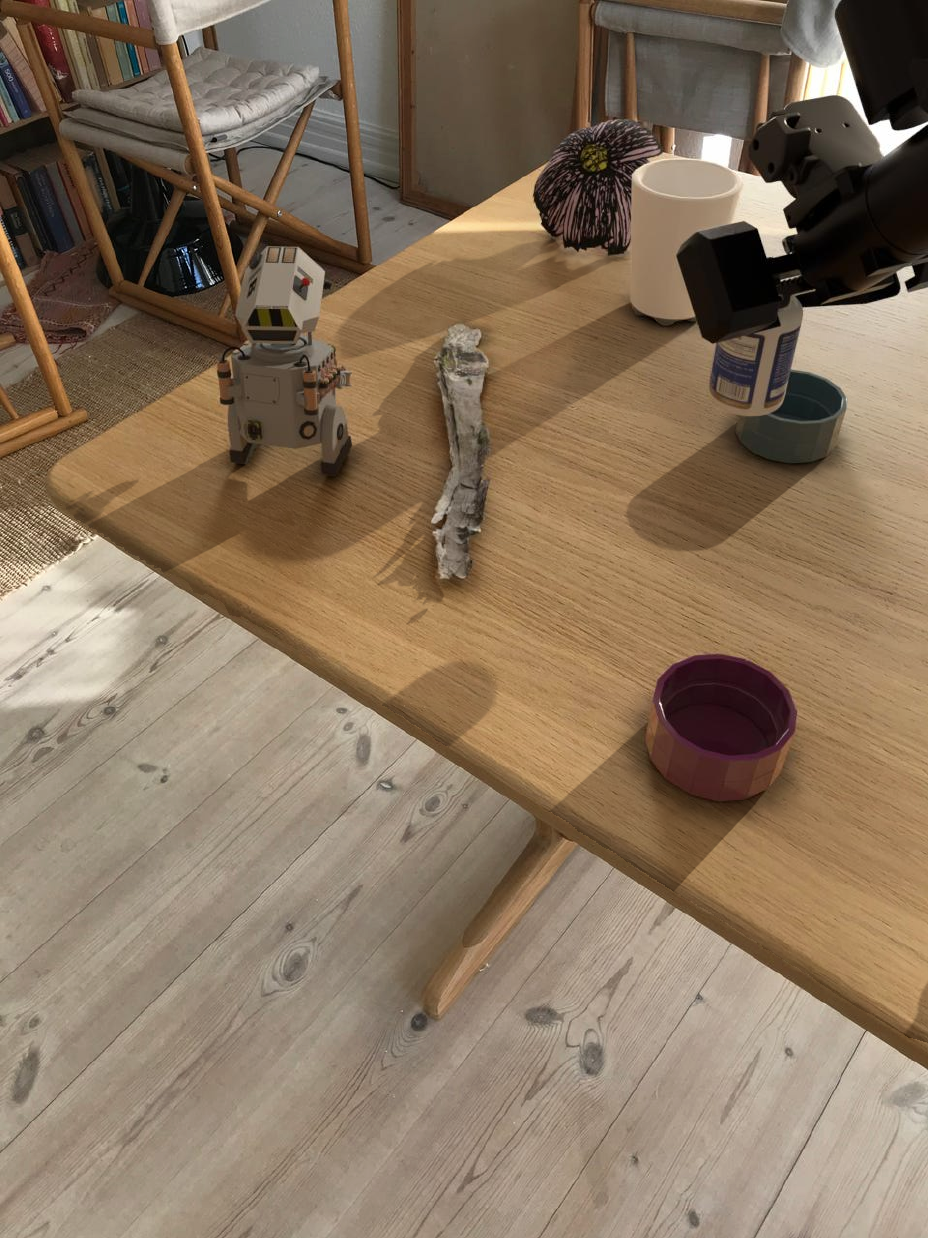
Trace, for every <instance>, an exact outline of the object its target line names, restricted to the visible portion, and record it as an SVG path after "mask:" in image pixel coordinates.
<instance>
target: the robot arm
mask: <svg viewBox="0 0 928 1238" xmlns="http://www.w3.org/2000/svg"><path fill="white" fill-rule="evenodd" d="M833 15H834V16H833V17H834V20H835V24H836V27H837V29H838V34H839V37H840V40H841V43H842V46H843V49H844V52H845V55H846V59H847V62H848V65H849V68H850V71H851V75H852V78H853V81H854V84H855V88H856V91H857V95H858V98H859V100H860V104H861V107H862V110H863V113H864V116H865V118H866V121H867V122H866V121H865V119H864V118H863V116H862V115H861V114H860V112H859V110H858V109H857V108H856V107H855V105H854V104H853V103H852V102H851V100H849V99H847V98H846V97H844V96H841V95H837V94H831V95H825V96H820V97H819V96H818V97H815V98H814V97H813V98H808V99H803V100H798V101H793V102H789V103H788V104H786V105H785V107H784V108H783V109H779V110H773V111H771V114H770V115H769V117H768V119H767V120H766V121H763V122H762V121H761V122H759V123H758V124H757V125H756V127H755V133H754V135H753V137H752V139H751V140H750V143H749V145H748V148H747V149H748V150H747V151H748V152H747V153H748V158H749V160H750V161H751V163H752V164H753V166H754V167H755V169H756V171H757V172H758V174H759V175H760V177H761V178H762V180H763V181H764V182H765V184H773V183H776V182H777V183H778V182H781V184H782V185H783V186H784V188H785V190H786V192H787V193H788V194H789V195H790V196H791V198H794V200H793V201H791V202H790V203H789V204H787V205H786V206H785V207H784V208H783V209H782V211H783V214H784V218H785V221H786V224H787V227H788V229H790V230H793V229H795V230H796V233H795V234H791V235H787V236H785V237H784V238H782V240H781V244H782V248H783V250H784V253H785V254H783V255H779V256H775V257H774V256H773V255H772V256H771V255H770V256H767V254H766V250H765V247H764V244H763V241H762V238H761V235H760V232H759V229H758V228H757V227H755V226H754V225H752V224H750V223H749V222H747V221H745V220H742V221H737V222H733V223H732V224H728V225H723V226H719V227H714V228H710V229H705V230H701V231H697V232H695V233H694V234H693V235H692V236H691V237H690V238H689V239H687V240H686V241H685V242H684V243H683V244H682V245H681V246H680V248H679V250H678V253H677V255H676V257H677V260H678V263H679V267H680V270H681V273H682V276H683V279H684V282H685V286H686V289H687V292H688V295H689V298H690V301H691V304H692V308H693V311H694V314H695V317H696V320H697V321H696V323H697V326H698V330H699V332H700V336H701V338H702V339H703V340H706V342H709V343H710V344H711V345H716V343H719V342H723V341H726V340H730V339H734V338H738V337H742V336H745V335H750V334H754V333H758V332H761V331H765V330H769V329H773V328H777V327H780V326H781V323H780V320H779V317H778V312H779V311H782V310H784V309H786V308H787V307H788V306H789V304H790V299H791V297H792V296H795V297H796V298H797V299H798V300H799V301H800V303H801V305H802V307H803V309H804V308H817V307H818V308H819V307H820V308H821V307H835V306H836V307H837V306H852V305H853V306H854V305H867V304H872V303H876V302H880V301H884V300H887V299H890V298H894V297H896V296H898V295H899V294H900V292H901V282H900V279H899V276H898V273H897V272H899V271H902V270H903V269H904V268H908V267H911V268H912V272H913V275H914V276H912V277H909V278H908V279H907V280H905V281H904V285H905V288H906V292H907V293H913V292H916V291H920V290H923V289H927V288H928V0H839V2H838V3H837V5H836V7H835V9H834V14H833ZM885 121H889V123H890V127H891V129H892V131H897V132H898V131H906V130H910V129H914V128H916V127H919V126H922V125H924V124H926V123H927V124H926V125H924V126H923V127H922V128H921V129H919V130H918V131H917V132H915V133H914V134H912V135H911V136H910V137H909V138H906V139H905V140H904V141H903V142H901V143H900V144H899V145H898V146H897V147H895V148H893V149H892V150H891V151H890V152H888V153H887V154H885V155H884V153H883V152H882V150H881V144H880V143H881V142H880V141H879V139H878V138H877V136H876V135H875V133H874V132H873V131H872V129H871V128H870V126H873V125H876V124H877V123H879V122H885ZM798 275H801V276H799V277H798V278H796V277H794V276H798ZM790 277H794V278H793V279H791V278H790ZM786 278H790V279H788V280H787V281H786V280H783V281H782V282H781V280H782V279H786Z"/></svg>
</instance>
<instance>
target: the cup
mask: <svg viewBox="0 0 928 1238" xmlns="http://www.w3.org/2000/svg"><path fill="white" fill-rule="evenodd" d="M743 187H744V182H743V178H741V176H740V175H739V174H738V173H737V172H736V171H735V170H733V169H731V168H729V167H728V166H725V165H723V164H720V163H718V162H714V161H710V160H705V159H697V158H686V157H685V158H683V157H682V158H681V157H676V158H675V157H674V158H663V159H658V160H657V159H656V160H654V161H650V163H647V164H644V165H643V166H641V167H639V168H638V169H636V170H635V172H634V173H633V174H632V203H631V242H630V271H629V272H630V273H629V274H630V275H629V276H630V277H629V281H630V282H629V299H630V305H631V308H632V311H633V313H634V314H635V316H636V315H637V316H640V317H644V316H648V317H650V318H652V319H654V320H655V321H656V322H657V324H659V325H661V326H664V327H669V326H671V325H673V324H674V323H675V322H680V321H683V320H684V321H685V320H686V321H688V322H697V320H696V317H695V314H694V311H693V308H692V304H691V301H690V298H689V295H688V292H687V289H686V286H685V282H684V279H683V276H682V273H681V270H680V267H679V263H678V260H677V257H676V255H677V253H678V250H679V248H680V246H681V245H682V244H683V243H684V242H685V241H686V240H687V239H689V238H690V237H691V236H692V235H693V234H694V233H695V232H697V231H701V230H705V229H710V228H714V227H719V226H723V225H728V224H732V223H734V220H735V215H736V212H737V208H738V205H739V203H740V198H741V194H742V191H743Z"/></svg>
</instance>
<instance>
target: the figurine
mask: <svg viewBox="0 0 928 1238" xmlns="http://www.w3.org/2000/svg"><path fill="white" fill-rule="evenodd" d="M325 275H326V271H325V270H324V269H323V268H322V267H321V266H320V265H319V264H318V263H317V262H315V261H314V260H313V259H312V258H311V257H310V256H309V255H308V254H307V253H306V252H304V250H302V248H300V247H299V246H271V245H270V246H268V245H267V246H266V247H265V248H264V249H263V250H262V251H261V252H259V251H256V252H255V253H254V254H253V255H252V256H251V257H250V259H249V261H248V266H247V267H246V268H245V270H244V274H243V278H242V283H241V287H240V291H239V296H238V300H237V305H236V309H235V312H234V316H235V317H236V319H237V322H238V323H239V325H240V326H241V331H242V332H243V334H244V335H245V337H246V338H247V339H246V341H244V342H243V343H242V346H241V347H238V346H230V347H228V348H226V349H225V350H224V351H223V353H222V357H221V359H219V360H216V367H217V369H216V372H217V373H216V374H217V378H218V387H219V403H220V404H221V405H223V406H227V407H228V408H227V429H228V431H227V432H228V437H229V444H230V449H229V460H230V463H233V464H239V465H240V464H242V465H245V464H247V465H248V463H249V458H252V457H253V452H254V451H255V450H256V449H258V447H259V445H265V446H272V447H279V448H288V449H295V450H296V449H297V450H298V449H301V448H306V447H311V446H316V445H320V444H321V457H322V460H321V462H320V473H321V475H324V476H330V477H337V476H338V475H339V473H340V472H339V471H340V470H342V467H343V464H344V462H345V461H346V460H347V458H348V455H349V454H350V452H351V449H352V447H353V443H352V437H351V435H349V429H348V422H347V416H346V413H345V410H344V408H343V406H342V405H340V404H339V405H338V404H337V403H336V402H337V400H336V389H338V390H343V389H344V388H345V387H352V383H351V377H352V373H353V372H352V371H349V370H347V368H346V366H344V365H340V364H338V359H337V357H336V356H337V355H336V351H337V348H336V346H335V345H334V344H332V343H327V342H325V341H324V340H322V339H313V332H315V331H316V327H317V325H318V322H319V319H320V317H321V316H320V315H321V308H322V307H321V306H322V298H323V290H331V287H332V283H331V282H328V281H325ZM305 334H307V335H305ZM230 350H231V351H232V350H233V351H232V352H231V355H230V360H231V364H230V360H228V359H225V357H226V355H227V353H228V352H229V351H230Z"/></svg>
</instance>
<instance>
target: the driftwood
mask: <svg viewBox="0 0 928 1238" xmlns="http://www.w3.org/2000/svg"><path fill="white" fill-rule="evenodd" d="M481 331H482V330H480V329H479V328H475V327H473V328H469V326H467V325H464V324H463V323H459V322H458V323H456V324H455V325H453V326H450V327H449V328H447V329H446V335H445V340H444V343H443V346H442V347H441V349H440V350H439V351H437V354H436V355H435V357H434V360H433V364H434V365H435V366H436V368H437V369H436V371H437V372H436V373H435V375H436V377H437V379H439V381H438V382H437V386H438V387H439V390H440V393H441V395H442V396H441V399H442V404H443V416H444V418H445V426H446V433H447V437H448V444H449V452H448V453H449V455H450V457H449V458H450V461H451V469H449V474H448V476H447V478H446V482H445V484H444V486H443V488H442V494H441V497H440V498H439V499H438V501H437V504H436V506H435V507H434V508H433V509H434V512H435V513H434V514H433V515H432V516H433V517H432V518H431V521H430V525H434V524H437V523H438V522H440V521H441V520H443V519H444V515H445V514H446V521H445V522H444V524H442V527H441V528H436V530H435V531H432V533H431V535H432V536H433V537H434V541H435V544H436V545H435V557H436V559H437V569H438V570H437V574H438V578H439V579H441V580H442V579H444V580H450V579H453V578H454V576H456V577H457V578H459V579H466V578H467V577H468V576H469V572H470V571H471V570H472V569H473V567H474V566H473V565H474V564H473V559H472V558H471V559H470V553H469V551H470V549H469V546H470V543H469V542H470V537H472V536H475V535H478V534H481V532H482V528H481V526H482V523H483V521H484V515H485V513H484V511H485V505H486V499H487V495H488V490H489V486H490V482H491V478H489V477H488V476H486V477H485V479H484V481H483V478H484V467H485V460H486V455H490V452H491V446H490V432H489V427H487V425H485V424H484V418H483V415H484V414H483V409H482V403H481V402H480V396H481V393H483V385H484V381H485V375H486V373H487V372H489V371H490V370H489V365H490V360H489V358H488V357H487V355H486V353H485V352H484V351H483V350H481V349H480V348H478V347H476V346H478V345H479V342H480V340H481V339H482V332H481ZM442 544H443V545H442Z"/></svg>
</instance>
